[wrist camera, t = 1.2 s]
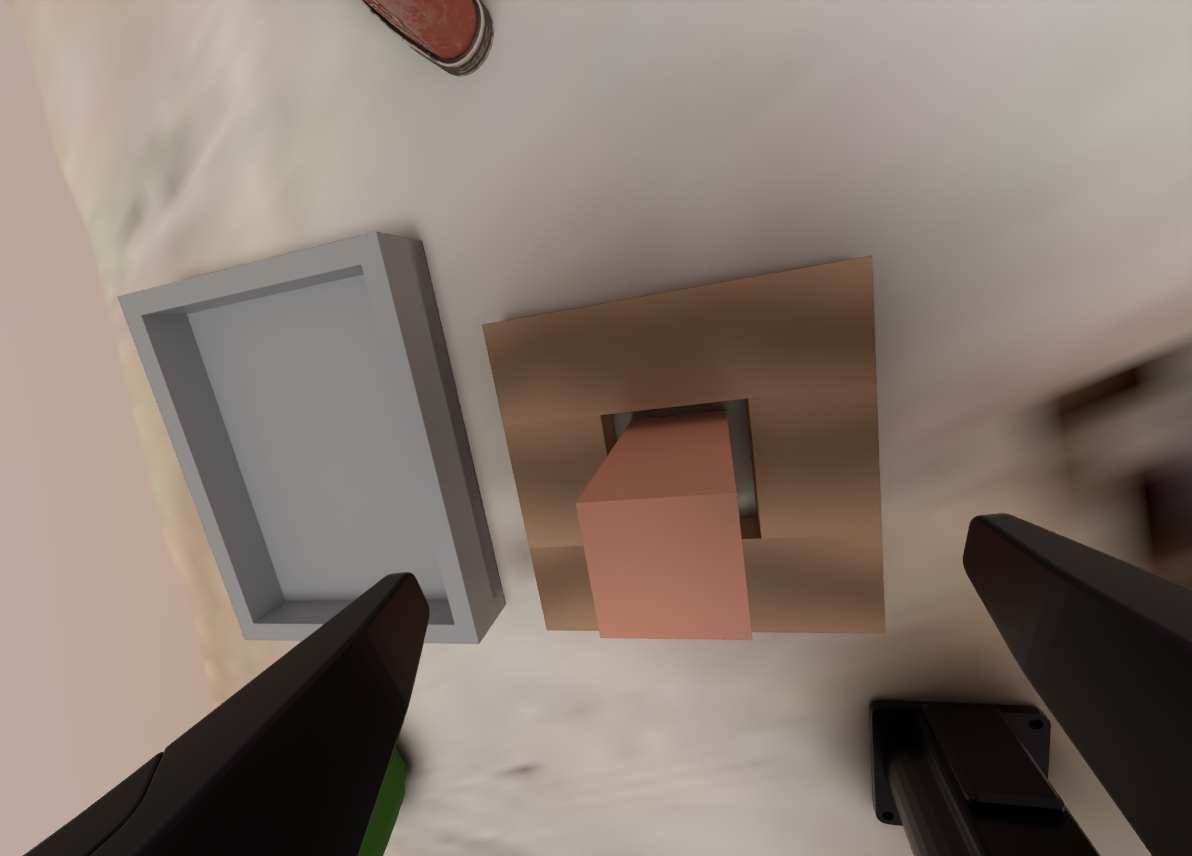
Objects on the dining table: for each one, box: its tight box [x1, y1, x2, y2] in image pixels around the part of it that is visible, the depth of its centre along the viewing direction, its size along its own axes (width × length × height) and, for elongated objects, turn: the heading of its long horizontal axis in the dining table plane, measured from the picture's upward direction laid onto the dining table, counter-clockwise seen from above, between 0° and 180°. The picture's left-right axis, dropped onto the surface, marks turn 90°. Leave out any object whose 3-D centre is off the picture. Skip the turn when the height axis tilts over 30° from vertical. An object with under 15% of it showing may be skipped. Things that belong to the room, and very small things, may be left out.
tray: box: [118, 232, 505, 644], centre depth 23 cm, size 18×14×3 cm
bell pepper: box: [358, 747, 406, 856], centre depth 26 cm, size 8×8×10 cm
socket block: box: [482, 256, 885, 633], centre depth 20 cm, size 14×14×2 cm
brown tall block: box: [576, 410, 752, 640], centre depth 16 cm, size 4×4×9 cm
